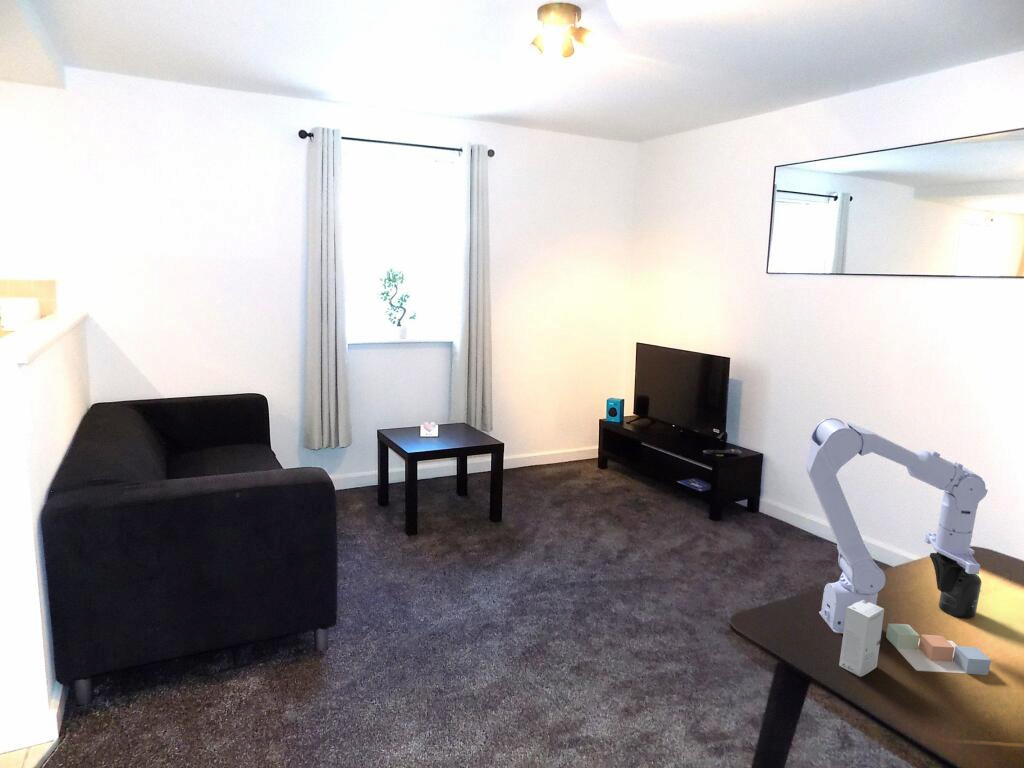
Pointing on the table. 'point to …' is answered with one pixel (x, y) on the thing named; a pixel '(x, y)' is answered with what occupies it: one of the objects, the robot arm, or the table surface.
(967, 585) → the supplement bottle
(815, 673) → the table surface
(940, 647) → the terracotta block
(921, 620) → the table surface
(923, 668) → the felt mat
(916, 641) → the sage block
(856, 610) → the skincare box
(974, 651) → the slate block
